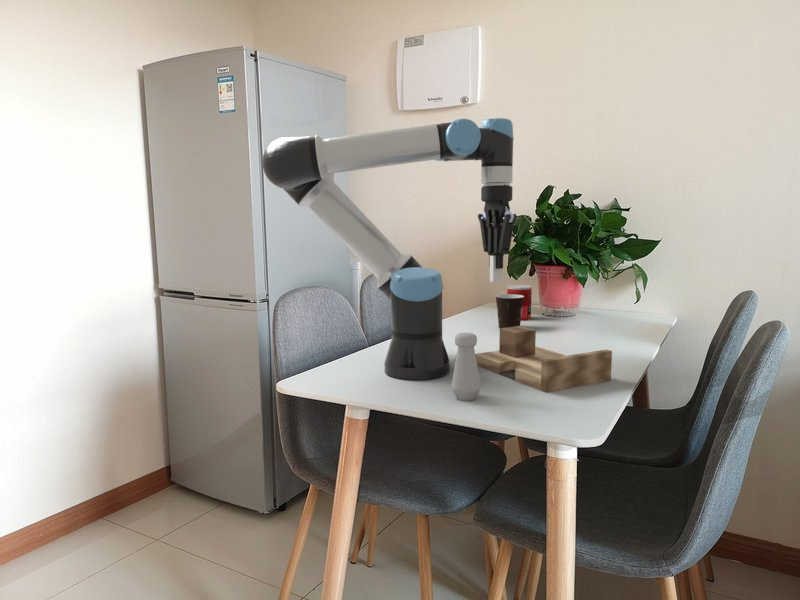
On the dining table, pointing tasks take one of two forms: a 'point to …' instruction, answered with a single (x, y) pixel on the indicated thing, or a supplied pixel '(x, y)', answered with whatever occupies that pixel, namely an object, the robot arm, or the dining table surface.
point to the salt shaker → (466, 368)
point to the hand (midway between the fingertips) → (495, 281)
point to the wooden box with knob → (550, 368)
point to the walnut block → (517, 341)
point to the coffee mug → (509, 310)
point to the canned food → (527, 293)
